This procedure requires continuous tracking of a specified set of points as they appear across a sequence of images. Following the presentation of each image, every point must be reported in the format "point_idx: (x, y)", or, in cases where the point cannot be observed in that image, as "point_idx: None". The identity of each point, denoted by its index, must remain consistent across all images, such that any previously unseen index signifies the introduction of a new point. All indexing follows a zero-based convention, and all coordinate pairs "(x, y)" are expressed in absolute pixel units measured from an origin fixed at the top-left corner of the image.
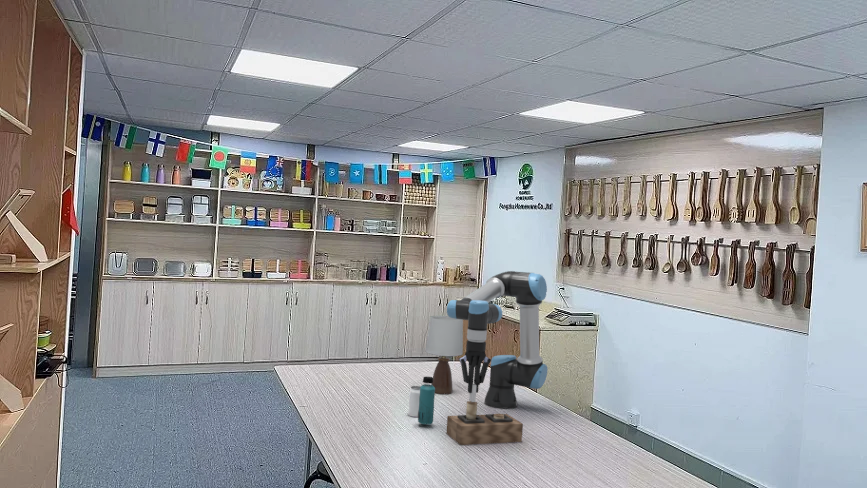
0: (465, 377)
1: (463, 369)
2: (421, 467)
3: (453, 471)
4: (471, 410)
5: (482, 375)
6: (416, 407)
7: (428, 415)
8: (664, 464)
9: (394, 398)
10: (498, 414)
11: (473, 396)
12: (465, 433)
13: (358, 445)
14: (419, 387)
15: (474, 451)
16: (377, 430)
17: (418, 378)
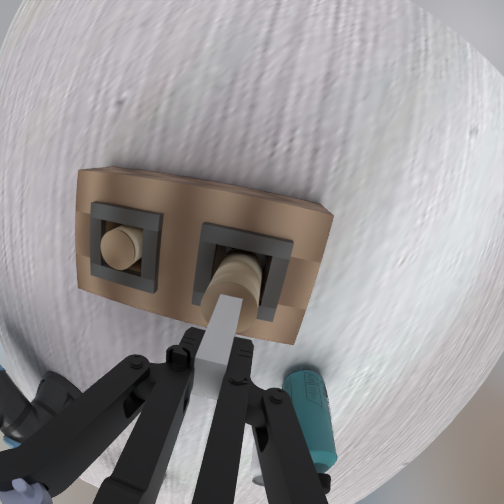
0: (301, 430)
1: (317, 499)
2: (486, 118)
3: (440, 58)
4: (249, 274)
5: (113, 400)
6: None
7: (312, 387)
8: (11, 25)
9: (247, 479)
10: (115, 257)
11: (229, 314)
12: (309, 206)
13: (501, 294)
14: (258, 481)
15: (312, 134)
16: (421, 370)
17: (161, 494)
